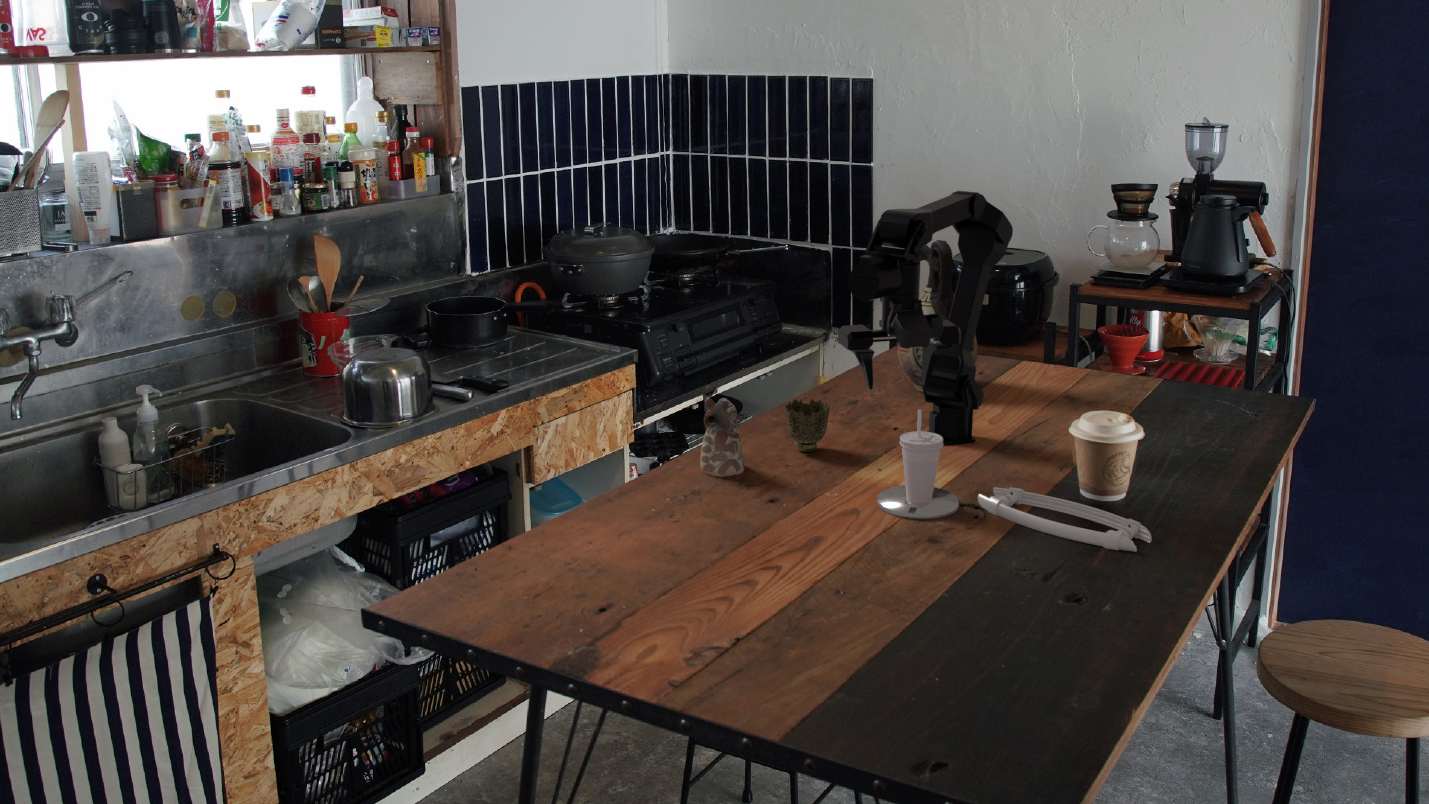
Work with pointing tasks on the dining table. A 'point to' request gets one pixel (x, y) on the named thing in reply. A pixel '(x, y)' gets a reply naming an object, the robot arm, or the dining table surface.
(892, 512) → the pad
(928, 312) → the ceramic jug
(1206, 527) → the dining table surface
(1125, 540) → the door handle
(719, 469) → the figurine
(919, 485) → the smoothie
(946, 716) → the dining table surface
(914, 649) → the dining table surface
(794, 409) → the cup
